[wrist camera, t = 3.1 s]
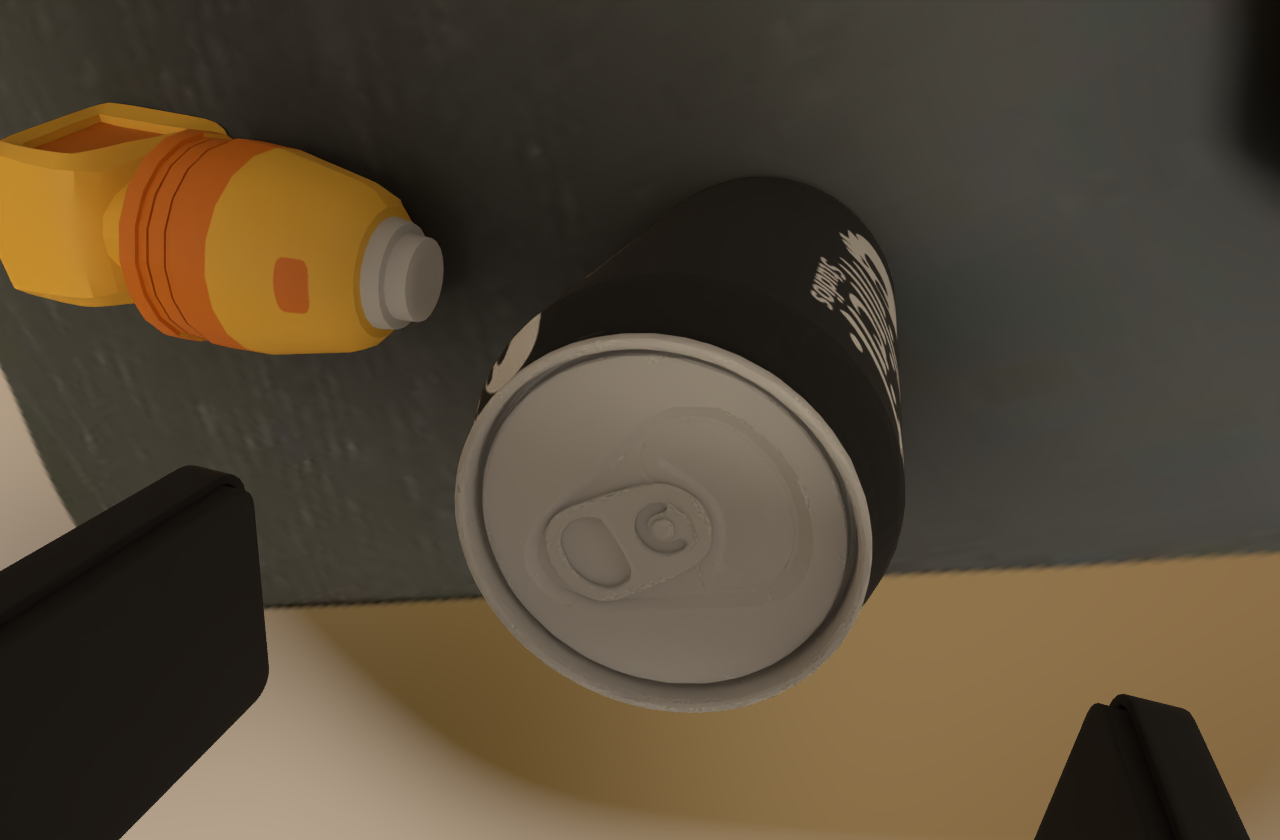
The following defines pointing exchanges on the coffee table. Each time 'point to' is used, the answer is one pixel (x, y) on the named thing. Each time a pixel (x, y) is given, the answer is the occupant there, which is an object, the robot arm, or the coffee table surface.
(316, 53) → the coffee table surface
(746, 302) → the beverage can
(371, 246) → the yellow plastic toy
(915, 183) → the coffee table surface
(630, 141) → the coffee table surface
